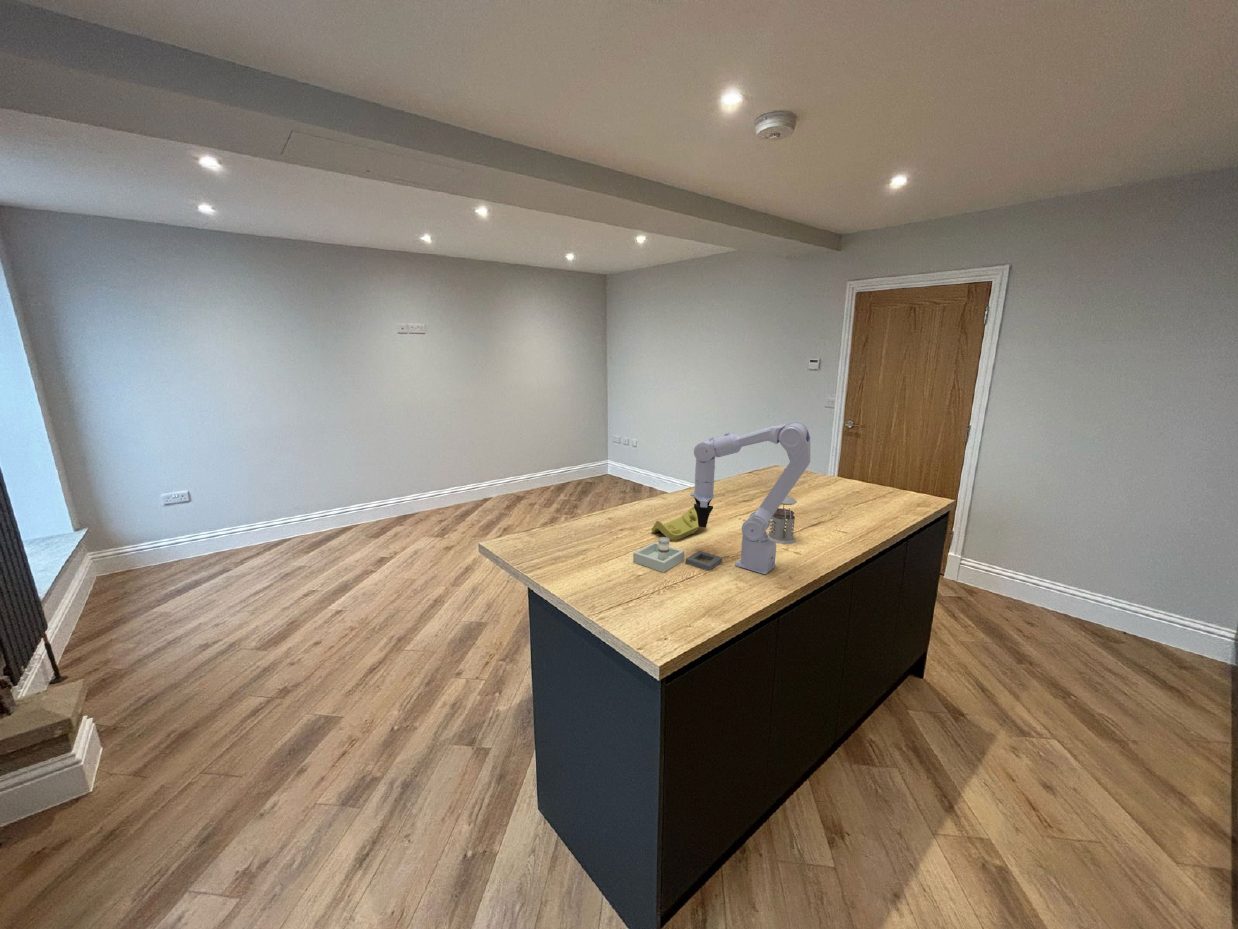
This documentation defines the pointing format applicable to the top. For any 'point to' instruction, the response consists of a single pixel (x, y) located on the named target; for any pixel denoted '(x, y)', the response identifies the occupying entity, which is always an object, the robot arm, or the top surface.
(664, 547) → the cylinder
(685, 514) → the plastic component
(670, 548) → the parts tray
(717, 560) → the gray square frame
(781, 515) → the french press
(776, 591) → the top surface
